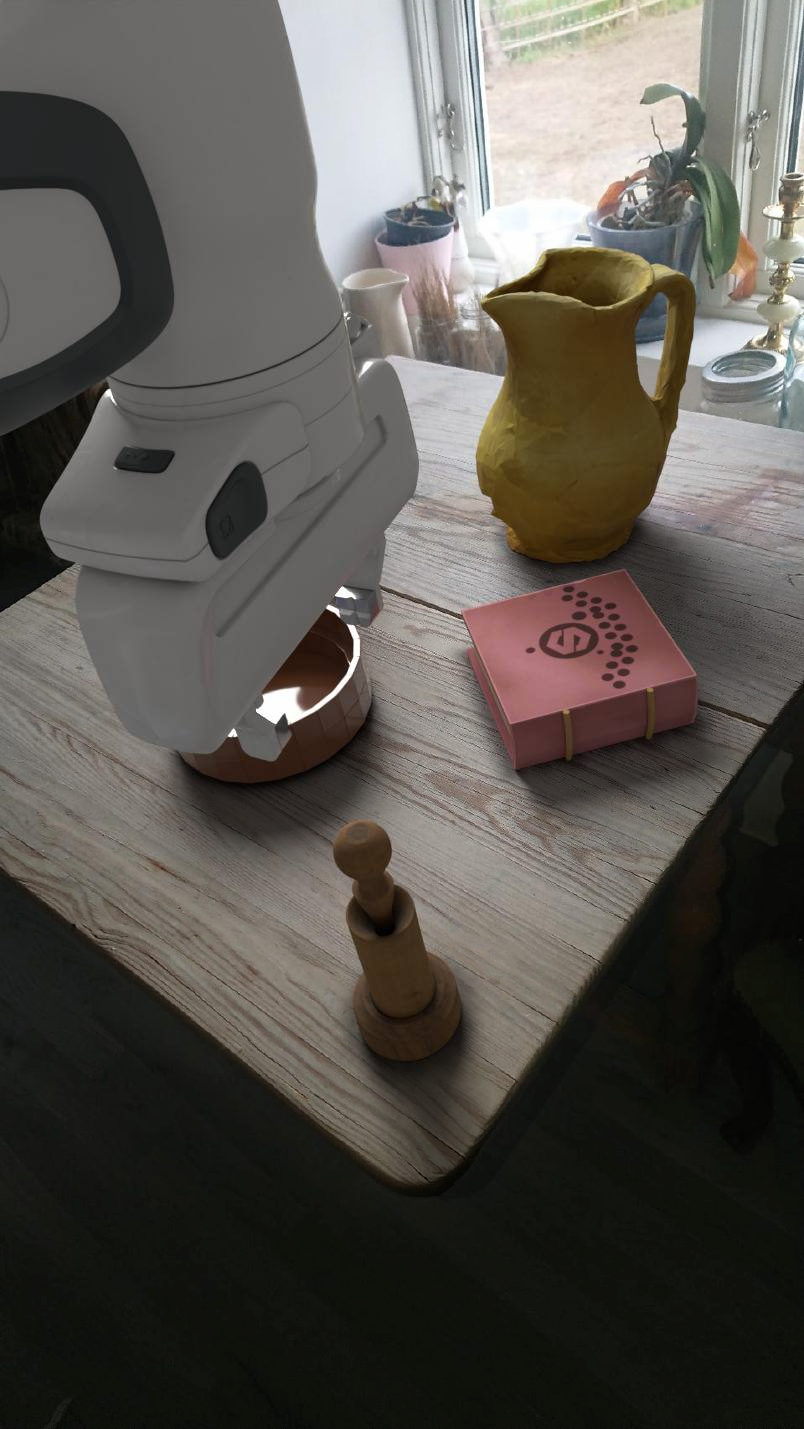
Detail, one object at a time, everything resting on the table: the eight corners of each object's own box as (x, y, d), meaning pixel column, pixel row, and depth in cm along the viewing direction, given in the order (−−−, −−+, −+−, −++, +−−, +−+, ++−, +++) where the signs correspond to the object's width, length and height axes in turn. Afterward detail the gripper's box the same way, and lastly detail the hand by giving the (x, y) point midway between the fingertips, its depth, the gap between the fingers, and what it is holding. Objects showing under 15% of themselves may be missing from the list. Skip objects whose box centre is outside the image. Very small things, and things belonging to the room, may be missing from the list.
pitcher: (498, 475, 105) (488, 233, 87) (677, 485, 100) (706, 231, 82) (462, 575, 94) (442, 321, 76) (662, 592, 89) (691, 325, 71)
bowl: (303, 814, 75) (285, 760, 71) (135, 757, 82) (110, 706, 78) (408, 671, 85) (397, 617, 81) (249, 632, 92) (232, 581, 88)
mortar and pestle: (387, 953, 65) (334, 771, 52) (477, 985, 62) (443, 800, 50) (340, 1041, 61) (270, 865, 48) (434, 1078, 58) (385, 903, 46)
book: (518, 778, 74) (513, 732, 71) (467, 655, 85) (460, 610, 82) (698, 730, 75) (702, 682, 71) (624, 614, 86) (624, 568, 82)
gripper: (303, 292, 44) (358, 545, 54) (3, 548, 32) (143, 819, 41) (430, 295, 42) (464, 560, 51) (157, 575, 29) (268, 857, 39)
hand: (319, 678), depth 46 cm, fingers open, 8 cm apart
